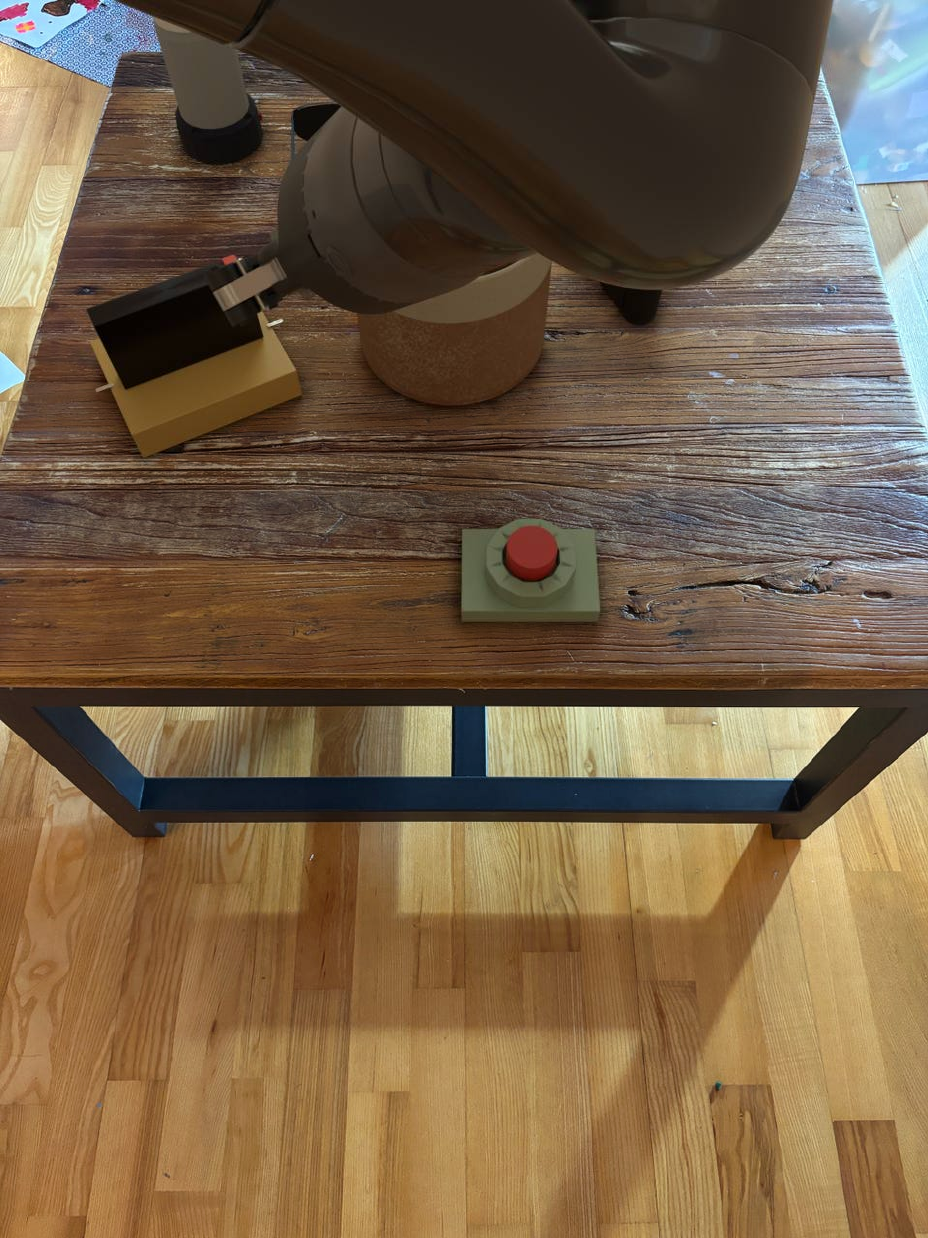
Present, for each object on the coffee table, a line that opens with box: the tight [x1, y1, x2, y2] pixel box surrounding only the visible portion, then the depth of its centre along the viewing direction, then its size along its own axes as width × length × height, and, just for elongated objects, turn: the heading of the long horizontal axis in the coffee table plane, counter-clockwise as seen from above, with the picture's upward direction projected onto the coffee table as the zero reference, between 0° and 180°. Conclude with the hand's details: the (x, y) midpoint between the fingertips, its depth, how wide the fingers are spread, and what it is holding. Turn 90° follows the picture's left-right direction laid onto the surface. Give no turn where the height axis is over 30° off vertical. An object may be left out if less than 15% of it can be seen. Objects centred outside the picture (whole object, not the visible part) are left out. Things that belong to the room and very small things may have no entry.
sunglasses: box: [290, 101, 341, 161], centre depth 87 cm, size 17×15×5 cm
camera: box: [599, 281, 663, 325], centre depth 80 cm, size 14×7×8 cm, turn 24°
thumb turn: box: [85, 254, 263, 389], centre depth 72 cm, size 12×2×7 cm, turn 118°
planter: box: [356, 253, 553, 406], centre depth 74 cm, size 16×16×14 cm
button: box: [506, 526, 558, 581], centre depth 66 cm, size 4×4×2 cm
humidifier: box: [152, 16, 264, 165], centre depth 81 cm, size 8×8×25 cm
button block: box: [460, 518, 601, 623], centre depth 68 cm, size 10×7×4 cm
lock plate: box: [89, 311, 303, 459], centre depth 77 cm, size 16×11×3 cm
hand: (285, 271), depth 51 cm, fingers closed
